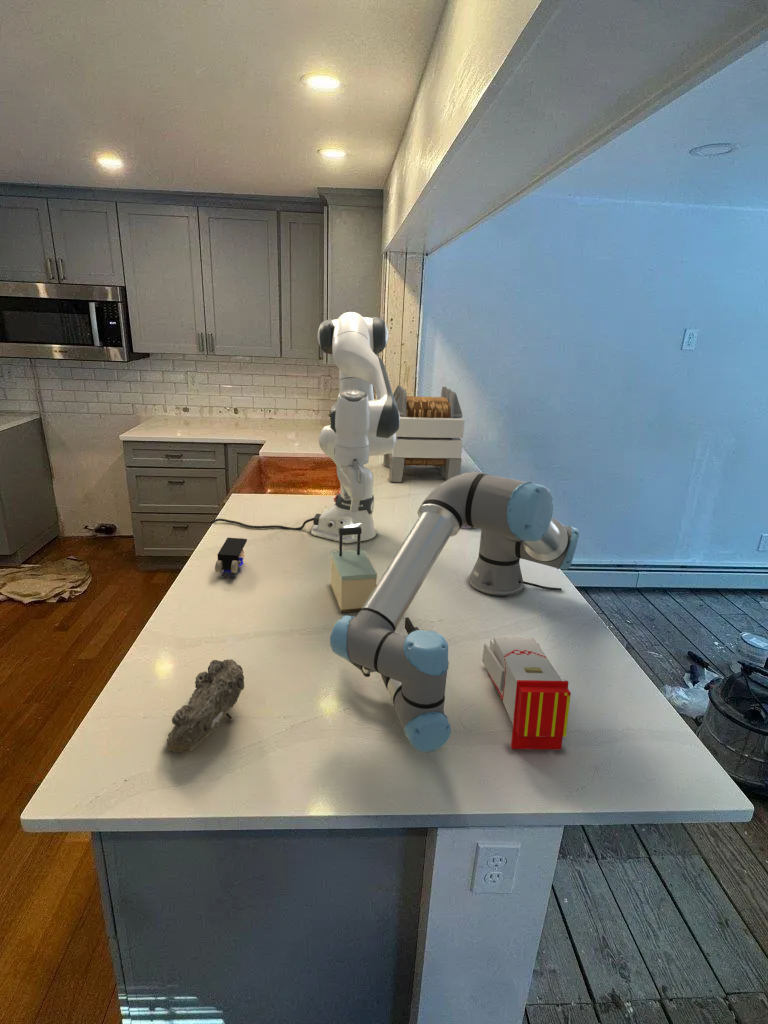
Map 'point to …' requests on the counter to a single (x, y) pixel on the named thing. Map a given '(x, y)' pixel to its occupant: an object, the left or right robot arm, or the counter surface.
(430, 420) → the transformer
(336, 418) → the left robot arm
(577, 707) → the counter surface
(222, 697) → the fossil
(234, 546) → the figurine character
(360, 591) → the chest
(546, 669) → the toy
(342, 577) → the lid
